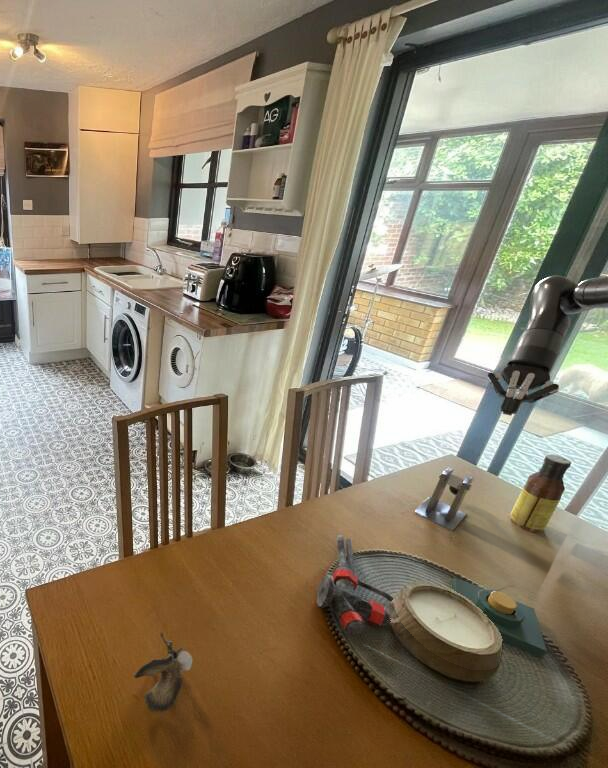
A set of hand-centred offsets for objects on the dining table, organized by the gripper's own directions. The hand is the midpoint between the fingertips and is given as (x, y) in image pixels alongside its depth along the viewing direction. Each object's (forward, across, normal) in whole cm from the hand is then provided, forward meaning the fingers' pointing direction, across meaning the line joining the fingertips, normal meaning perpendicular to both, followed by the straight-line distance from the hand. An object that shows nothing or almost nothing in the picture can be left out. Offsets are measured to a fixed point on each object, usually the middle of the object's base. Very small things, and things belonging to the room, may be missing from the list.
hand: (507, 413), depth 98 cm
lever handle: (+21, -4, +6) cm, 22 cm away
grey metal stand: (+28, -4, +7) cm, 30 cm away
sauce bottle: (+21, +9, +18) cm, 29 cm away
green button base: (+46, +12, -11) cm, 49 cm away
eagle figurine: (+83, -18, -58) cm, 103 cm away
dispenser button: (+43, +12, -13) cm, 47 cm away
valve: (+54, -7, -23) cm, 59 cm away
